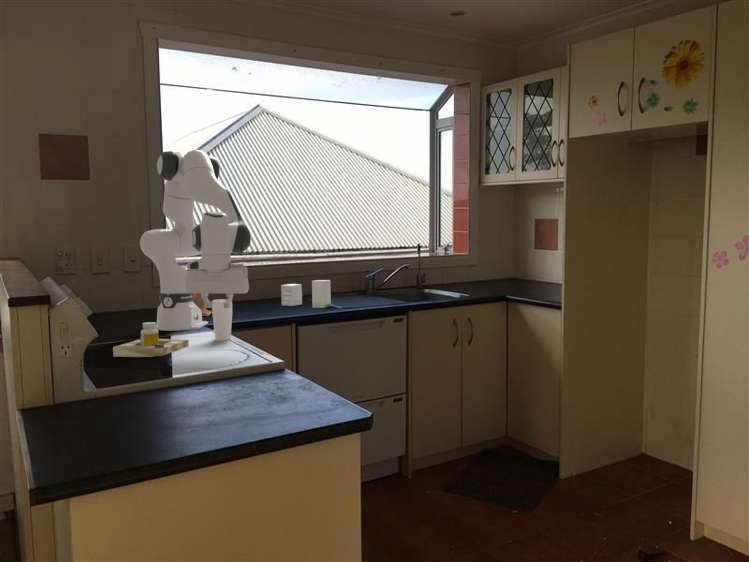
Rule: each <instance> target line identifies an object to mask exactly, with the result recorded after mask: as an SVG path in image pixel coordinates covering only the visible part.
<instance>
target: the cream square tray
mask: <svg viewBox="0 0 749 562" xmlns="http://www.w3.org/2000/svg"><path fill="white" fill-rule="evenodd" d="M158 340H159V344H155V346H141V338H139V339H136V340H134V341H133V340H132V341H130V342H126V343H125V342H124V343H123V344H120V345H116V346H113V347H112V352H113V355H112V357H114V358H118V357H119V358H120V357H121V358H146V357H147V358H153V357H163V356H166V355H169V354H170V353H171V354H172V353H173V352H176V351H178V350H182V349H184V348H186V347H188V346H189V339H178V338H174V339H172V338H158Z"/></svg>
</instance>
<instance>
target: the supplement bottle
mask: <svg viewBox="0 0 749 562" xmlns="http://www.w3.org/2000/svg"><path fill="white" fill-rule="evenodd" d="M156 325H157V322H155V321H154V322H153V321H151V322H150V321H149V322H148V321H147V322H142V328H143V329H141V331H140V339H141V346H155V344H159V340H158V339H159V330H158V329H157V328H155V327H156Z"/></svg>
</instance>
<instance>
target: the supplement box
mask: <svg viewBox="0 0 749 562" xmlns="http://www.w3.org/2000/svg"><path fill="white" fill-rule="evenodd" d="M280 287H281V288H280V289H281V290H280V291H281V293H280V294H281V295H280V296H281V306H283V307H285V306H286V307H295V306H299V305H300V306H301V305H303V288H302V287H303V285H302V284H301V283H299V284H298V283H287V284H281V285H280Z"/></svg>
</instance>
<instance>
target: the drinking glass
mask: <svg viewBox="0 0 749 562" xmlns="http://www.w3.org/2000/svg"><path fill="white" fill-rule="evenodd" d="M227 299H228V298H227ZM227 299H223V298H221V299H213V300H211V302H212V304H211V305H212V307H211V311H212V314H211V315H212V321H213V331H214V340H215V341H219V342H220V341H221V342H222V341H229V340H231V339H232V326H233V325H232V324H233V323H232V320H233V299H232V300H231V302H230V308H224V303H223V302H226V301H227Z"/></svg>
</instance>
